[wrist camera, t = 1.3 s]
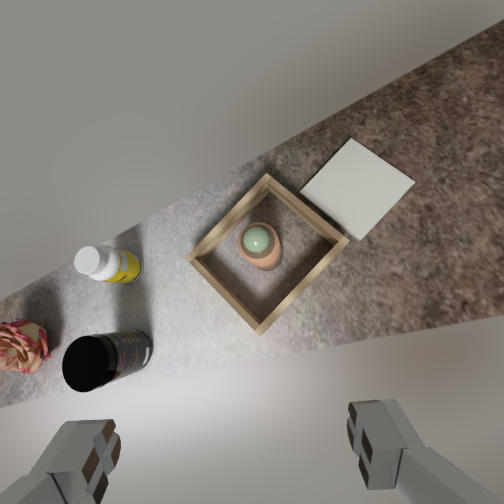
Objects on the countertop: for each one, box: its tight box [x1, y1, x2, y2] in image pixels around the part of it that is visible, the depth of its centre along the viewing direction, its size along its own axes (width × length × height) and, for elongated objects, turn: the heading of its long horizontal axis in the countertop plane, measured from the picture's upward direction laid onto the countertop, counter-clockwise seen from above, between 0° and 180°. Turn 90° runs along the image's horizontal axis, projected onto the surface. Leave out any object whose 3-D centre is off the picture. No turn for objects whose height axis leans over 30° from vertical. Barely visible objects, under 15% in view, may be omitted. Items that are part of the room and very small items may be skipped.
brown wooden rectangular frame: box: [186, 173, 349, 336], centre depth 41 cm, size 18×16×4 cm
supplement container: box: [62, 329, 152, 392], centre depth 38 cm, size 7×7×10 cm
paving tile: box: [300, 138, 415, 241], centre depth 42 cm, size 12×12×1 cm
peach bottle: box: [238, 222, 283, 271], centre depth 37 cm, size 5×5×12 cm
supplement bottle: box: [75, 245, 143, 284], centre depth 42 cm, size 5×5×10 cm
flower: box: [0, 318, 52, 373], centre depth 44 cm, size 10×9×8 cm
